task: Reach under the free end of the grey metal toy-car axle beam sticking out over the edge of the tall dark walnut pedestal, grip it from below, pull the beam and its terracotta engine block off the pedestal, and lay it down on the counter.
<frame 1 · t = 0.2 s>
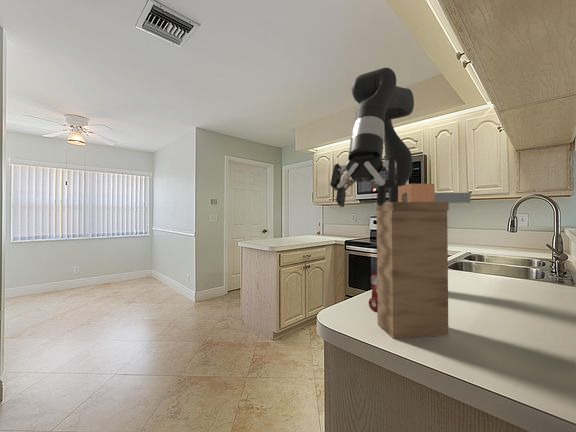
hand: (359, 205, 57), 31 cm above the table, tool tilted 20°, fingers open, 8 cm apart
walnut pedestal: (411, 329, 66), on the table
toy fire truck: (388, 312, 78), on the table
axle beam: (435, 202, 66), point 32 cm above the table, touching walnut pedestal
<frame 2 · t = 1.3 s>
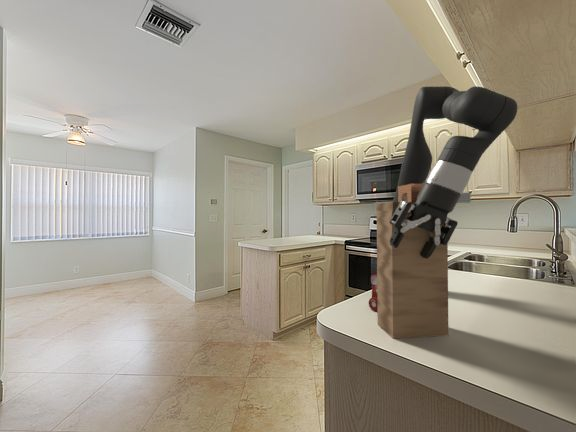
hand: (408, 251, 60), 20 cm above the table, tool tilted 25°, fingers open, 8 cm apart
nothing on the table moved.
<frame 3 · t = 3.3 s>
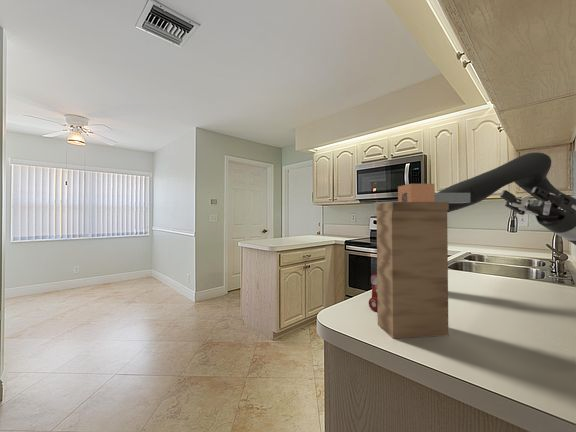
hand: (517, 191, 69), 35 cm above the table, tool pointing upward, fingers open, 8 cm apart
nothing on the table moved.
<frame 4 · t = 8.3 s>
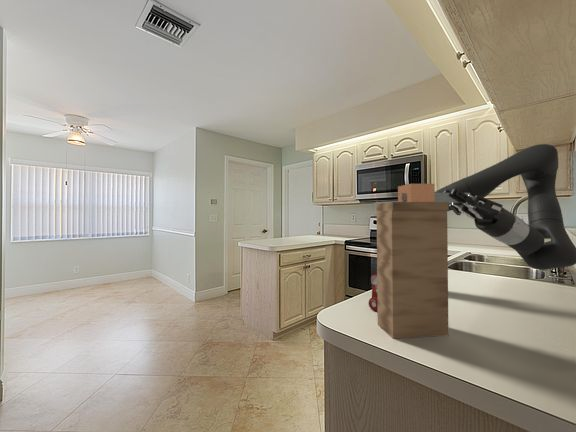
hand: (448, 192, 67), 35 cm above the table, tool pointing upward, fingers closed on axle beam, 2 cm apart
axle beam: (435, 202, 66), point 32 cm above the table, touching gripper
everything else where it was.
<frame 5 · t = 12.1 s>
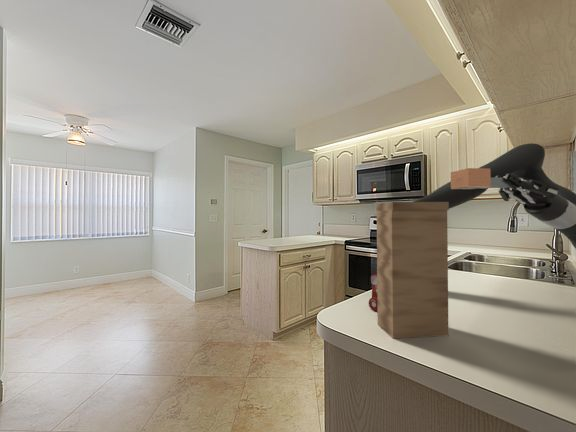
hand: (501, 177, 68), 39 cm above the table, tool pointing upward, fingers closed on axle beam, 2 cm apart
axle beam: (489, 187, 68), point 36 cm above the table, touching gripper
everything else where it was.
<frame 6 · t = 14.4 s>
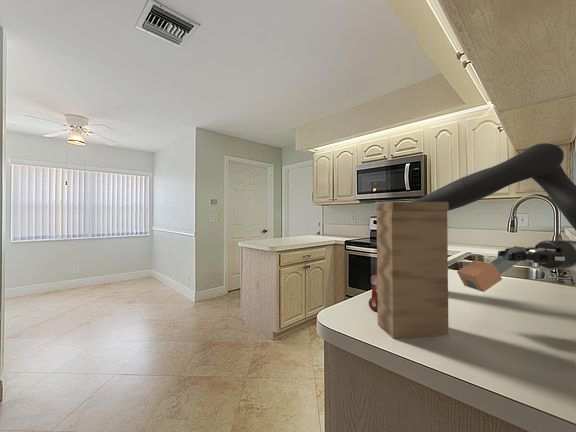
hand: (504, 255, 68), 18 cm above the table, tool horizontal, fingers closed on axle beam, 2 cm apart
axle beam: (499, 271, 68), point 14 cm above the table, tilted 30°, touching gripper
everything else where it was.
when the fingers open (10 cm above the table, at t = 16.2 s): axle beam drops 6 cm, on the table.
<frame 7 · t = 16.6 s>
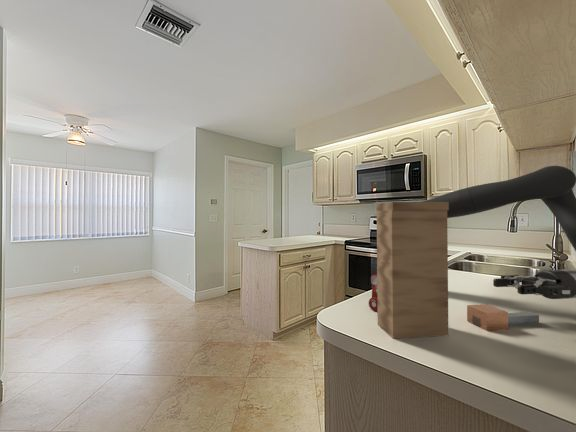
hand: (506, 286, 68), 10 cm above the table, tool horizontal, fingers open, 6 cm apart
axle beam: (505, 324, 69), on the table
everything else where it was.
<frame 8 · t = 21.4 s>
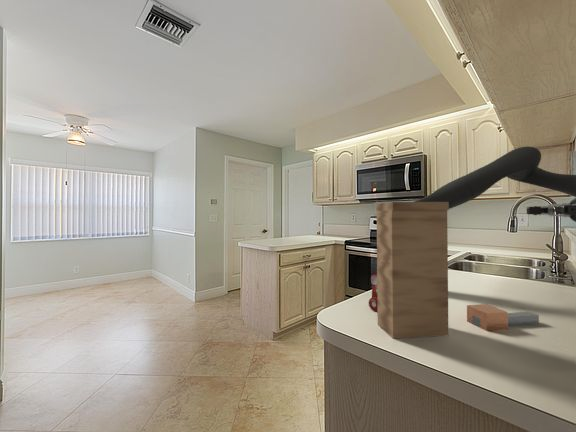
hand: (544, 210, 70), 30 cm above the table, tool horizontal, fingers open, 8 cm apart
nothing on the table moved.
at the end: axle beam inside the target area (2.4 cm from its centre), on the table; the gripper is holding nothing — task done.
